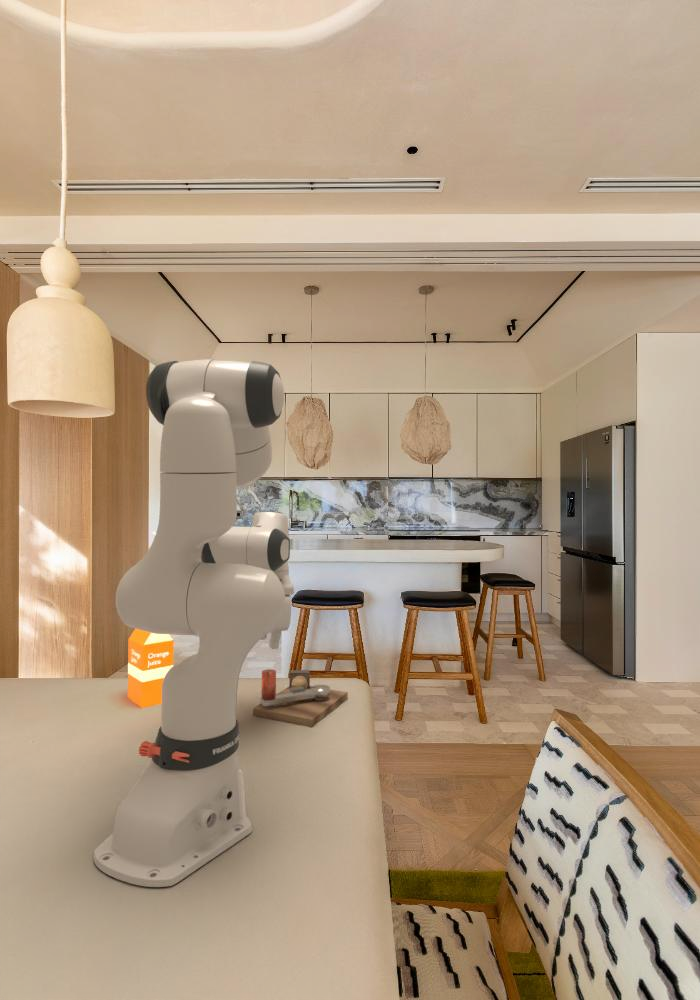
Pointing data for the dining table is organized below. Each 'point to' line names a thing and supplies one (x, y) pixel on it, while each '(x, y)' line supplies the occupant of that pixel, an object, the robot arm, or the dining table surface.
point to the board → (302, 705)
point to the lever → (294, 695)
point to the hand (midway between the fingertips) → (267, 643)
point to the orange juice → (148, 666)
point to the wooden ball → (299, 682)
